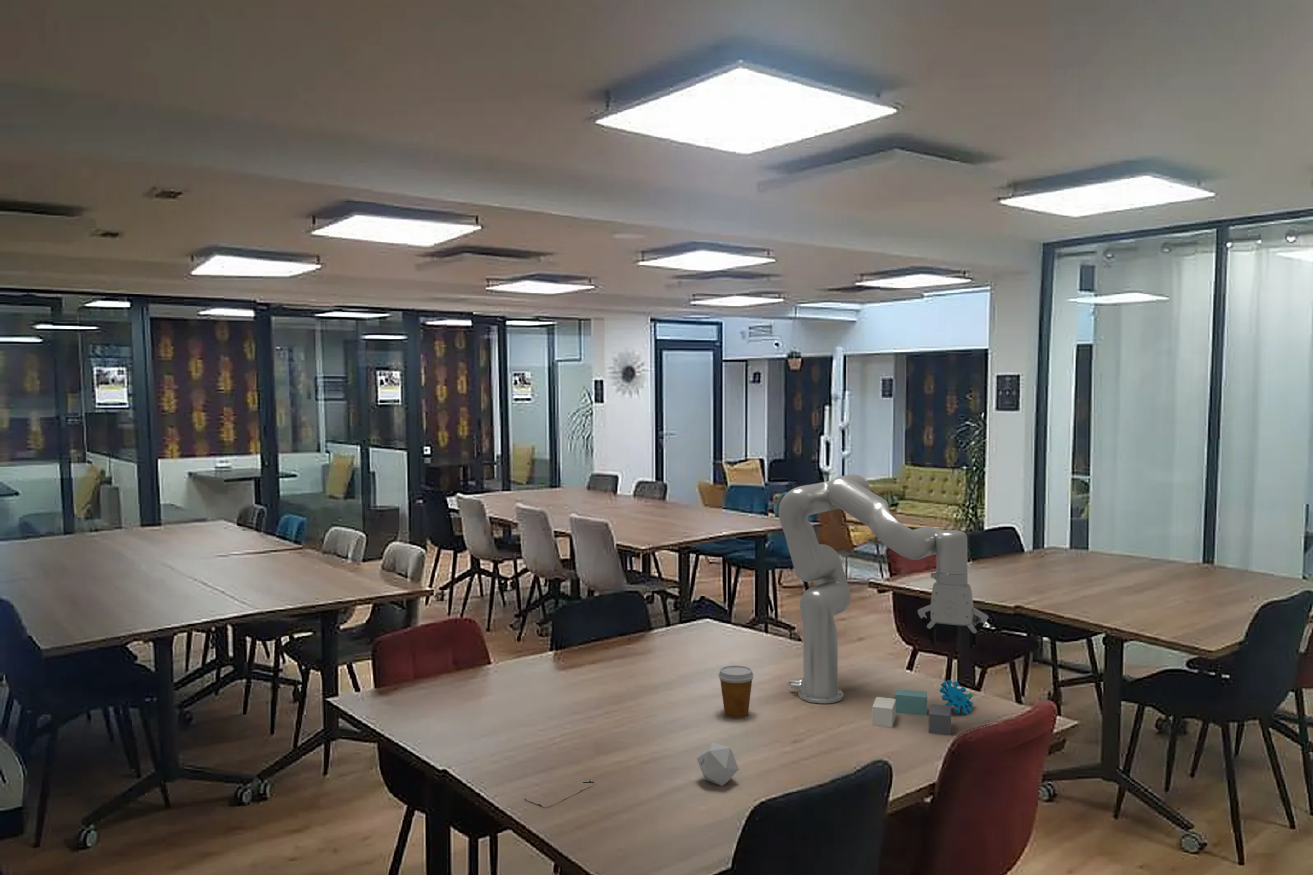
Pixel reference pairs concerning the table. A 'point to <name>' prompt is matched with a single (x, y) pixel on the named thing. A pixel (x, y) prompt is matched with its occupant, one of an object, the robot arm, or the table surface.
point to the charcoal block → (940, 719)
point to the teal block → (911, 701)
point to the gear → (956, 697)
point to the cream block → (884, 712)
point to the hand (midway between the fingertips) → (952, 645)
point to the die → (717, 764)
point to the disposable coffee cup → (736, 690)
